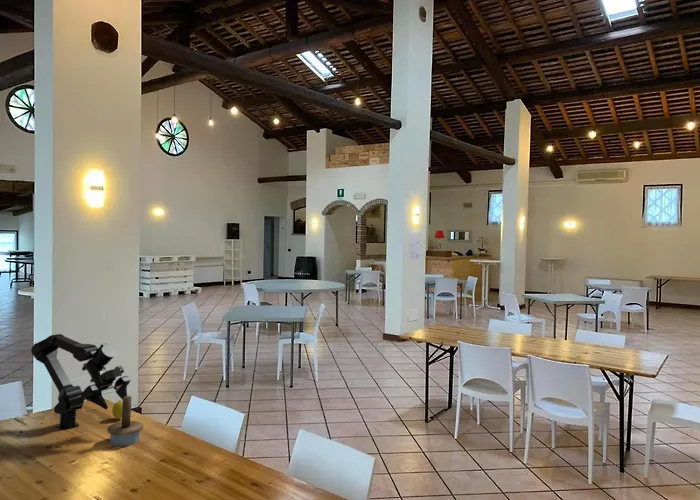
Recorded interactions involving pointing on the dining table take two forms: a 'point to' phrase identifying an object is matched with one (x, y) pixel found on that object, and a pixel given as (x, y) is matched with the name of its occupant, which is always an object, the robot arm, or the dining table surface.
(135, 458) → the dining table surface
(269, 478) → the dining table surface
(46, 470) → the dining table surface
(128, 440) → the bowl
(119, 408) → the lemon
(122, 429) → the brown peg on base
